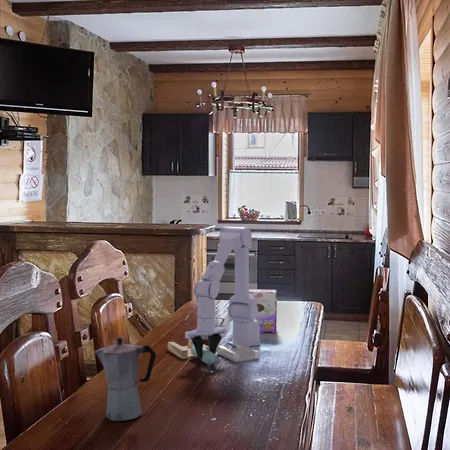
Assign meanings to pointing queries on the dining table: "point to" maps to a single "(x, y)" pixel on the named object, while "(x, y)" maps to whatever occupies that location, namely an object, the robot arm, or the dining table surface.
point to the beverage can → (196, 327)
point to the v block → (239, 353)
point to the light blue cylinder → (205, 355)
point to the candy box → (266, 309)
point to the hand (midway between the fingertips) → (206, 357)
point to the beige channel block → (183, 349)
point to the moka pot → (123, 378)
